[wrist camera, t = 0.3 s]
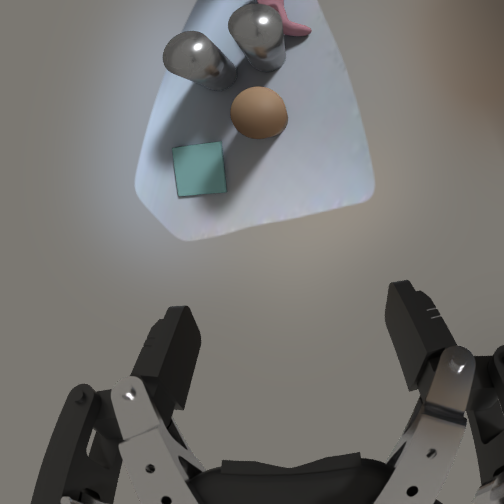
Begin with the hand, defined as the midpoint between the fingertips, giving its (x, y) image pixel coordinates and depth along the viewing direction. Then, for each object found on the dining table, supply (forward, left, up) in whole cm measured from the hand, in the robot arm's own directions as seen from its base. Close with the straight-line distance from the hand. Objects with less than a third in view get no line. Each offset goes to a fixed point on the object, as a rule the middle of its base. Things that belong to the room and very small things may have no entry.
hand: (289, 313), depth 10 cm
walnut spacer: (-9, -2, -28) cm, 29 cm away
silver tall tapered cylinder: (-16, -8, -28) cm, 33 cm away
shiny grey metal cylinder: (-17, -2, -28) cm, 33 cm away
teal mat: (-3, -12, -28) cm, 30 cm away
